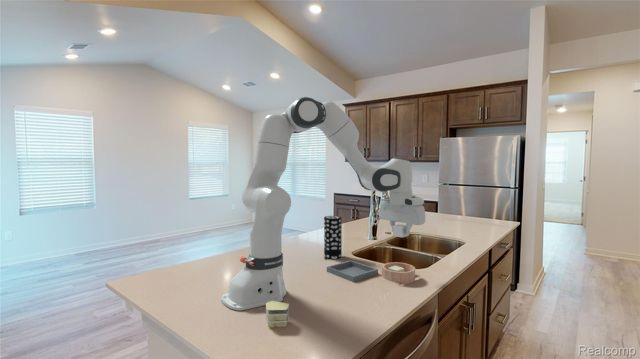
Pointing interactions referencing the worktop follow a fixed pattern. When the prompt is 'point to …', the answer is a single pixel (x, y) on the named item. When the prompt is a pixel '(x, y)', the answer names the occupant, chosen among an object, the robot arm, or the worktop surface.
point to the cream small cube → (396, 269)
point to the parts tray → (352, 270)
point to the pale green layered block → (277, 314)
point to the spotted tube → (332, 237)
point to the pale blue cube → (399, 230)
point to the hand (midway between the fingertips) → (400, 233)
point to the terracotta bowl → (399, 273)
